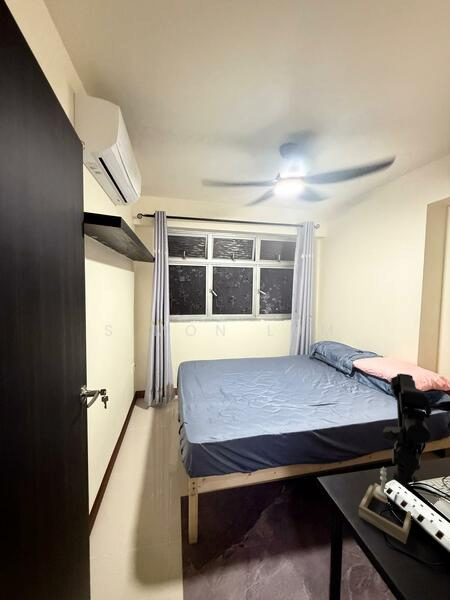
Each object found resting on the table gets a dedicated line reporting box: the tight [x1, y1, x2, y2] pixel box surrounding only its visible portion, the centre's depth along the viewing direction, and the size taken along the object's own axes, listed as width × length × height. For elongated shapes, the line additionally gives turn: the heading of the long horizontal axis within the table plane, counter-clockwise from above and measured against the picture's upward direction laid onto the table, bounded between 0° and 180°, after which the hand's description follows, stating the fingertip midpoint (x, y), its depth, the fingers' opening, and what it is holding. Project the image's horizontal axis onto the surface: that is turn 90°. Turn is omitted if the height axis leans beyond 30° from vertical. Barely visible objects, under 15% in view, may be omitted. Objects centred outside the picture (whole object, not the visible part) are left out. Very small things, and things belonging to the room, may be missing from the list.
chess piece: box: [375, 466, 387, 499], centre depth 93 cm, size 5×5×10 cm
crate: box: [358, 484, 413, 545], centre depth 85 cm, size 13×13×4 cm
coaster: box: [372, 482, 391, 506], centre depth 93 cm, size 7×7×1 cm
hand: (411, 469), depth 88 cm, fingers open, 9 cm apart
